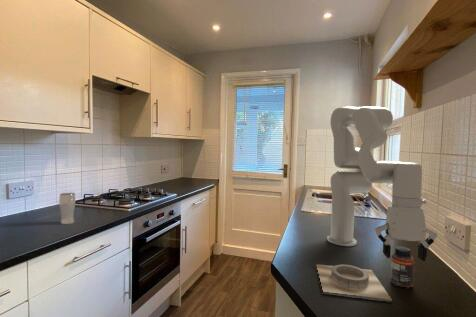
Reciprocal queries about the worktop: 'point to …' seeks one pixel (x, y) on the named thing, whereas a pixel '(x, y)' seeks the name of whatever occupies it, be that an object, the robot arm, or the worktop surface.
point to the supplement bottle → (402, 267)
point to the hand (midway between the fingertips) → (404, 258)
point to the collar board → (351, 281)
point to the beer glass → (67, 207)
